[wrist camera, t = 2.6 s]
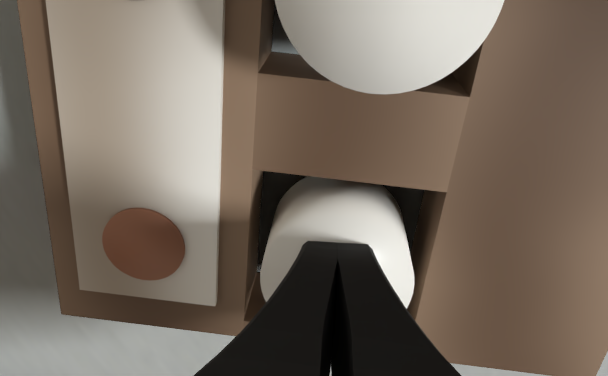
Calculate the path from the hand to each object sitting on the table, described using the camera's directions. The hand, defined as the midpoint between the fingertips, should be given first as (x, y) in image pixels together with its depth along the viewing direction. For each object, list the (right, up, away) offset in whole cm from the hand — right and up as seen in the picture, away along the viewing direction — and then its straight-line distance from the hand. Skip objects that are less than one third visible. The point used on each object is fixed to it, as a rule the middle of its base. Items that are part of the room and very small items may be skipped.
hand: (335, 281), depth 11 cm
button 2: (0, +1, +2) cm, 2 cm away
